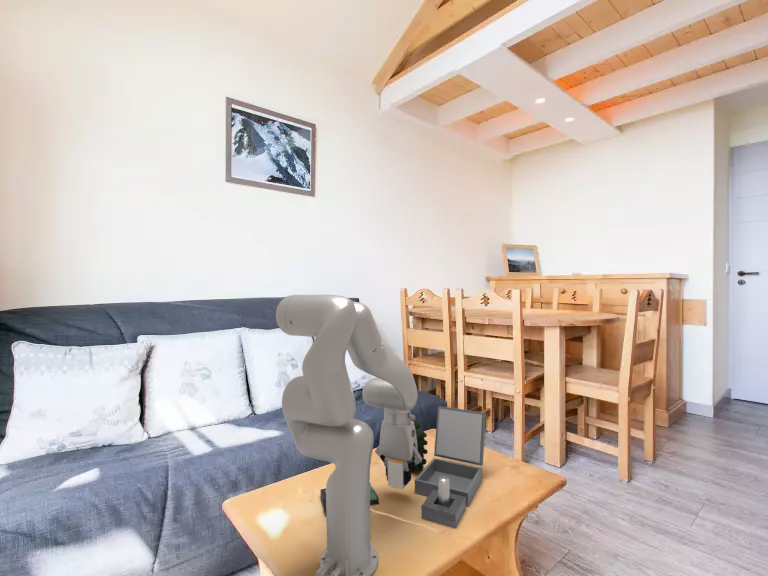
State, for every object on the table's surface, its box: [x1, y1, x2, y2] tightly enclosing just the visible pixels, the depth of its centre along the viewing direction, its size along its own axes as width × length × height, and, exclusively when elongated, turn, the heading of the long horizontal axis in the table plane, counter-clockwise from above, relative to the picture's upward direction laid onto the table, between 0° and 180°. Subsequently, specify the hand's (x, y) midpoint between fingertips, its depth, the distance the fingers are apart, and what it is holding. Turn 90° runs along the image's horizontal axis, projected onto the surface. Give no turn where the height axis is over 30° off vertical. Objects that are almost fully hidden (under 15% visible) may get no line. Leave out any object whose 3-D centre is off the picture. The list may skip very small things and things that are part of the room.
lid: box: [433, 405, 487, 467], centre depth 124 cm, size 16×16×1 cm
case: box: [414, 457, 483, 508], centre depth 115 cm, size 16×16×4 cm
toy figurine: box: [411, 417, 429, 473], centre depth 132 cm, size 9×19×25 cm
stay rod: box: [438, 476, 450, 508], centre depth 101 cm, size 3×3×10 cm
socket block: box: [421, 489, 467, 529], centre depth 101 cm, size 9×9×4 cm
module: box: [387, 457, 407, 491], centre depth 109 cm, size 4×4×8 cm
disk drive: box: [320, 483, 380, 517], centre depth 109 cm, size 10×3×15 cm
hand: (398, 480), depth 109 cm, fingers closed on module, 4 cm apart
